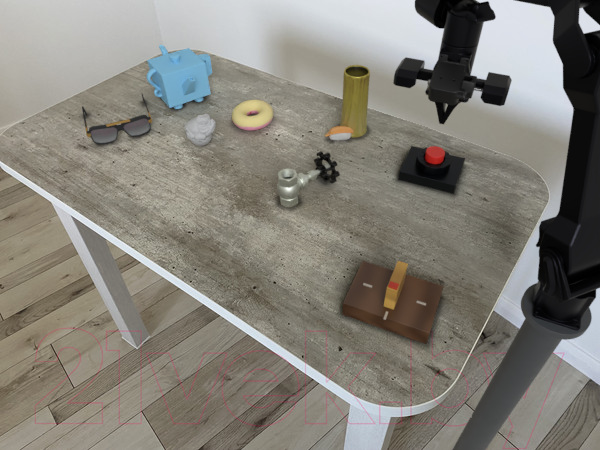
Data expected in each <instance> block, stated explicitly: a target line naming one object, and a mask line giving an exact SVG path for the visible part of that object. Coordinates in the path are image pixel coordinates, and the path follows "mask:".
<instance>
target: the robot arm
mask: <svg viewBox="0 0 600 450" xmlns="http://www.w3.org/2000/svg"><path fill="white" fill-rule="evenodd" d="M514 1H516V2H521V3H526V4H531V5H536V6H542V7H546V8H550V10H551V13H552V15H553V29H552V43H553V47H554V49H555V50H556V53H557V54H558V57H559V59H560V61H561V64H562V89H563V91H564V93H565V95H566V96H567V99H568V101H569V102H570V104H571V106H572V111H573V112H572V119H571V126H570V133H569V139H568V147H567V153H566V161H565V167H564V174H563V182H562V187H561V196H560V203H559V208H558V212H557V214H556V216H553V217H550V218H547V219H544V220H541V221H540V224H539V226H538V240H537V242H536V244H535V247H536V248H538V269H537V282H536V283H537V284H536V283H535V284H536V286H535V288H534V290H533V295H532V302H531V303H532V304H534V305H533V313H532V315H533V316H534V317H535V318H538V319H541V320H544V321H547V322H551V323H554V324H557V325H560V326H563V327H566V328H570V329H573V330H576V331H578V330H579V329H580V328H581V318H582V317H583V315H584V314H585V312H586V311H587V309H588V308H590V307H591V305H592V304H593V303H594V301H595V300H596V298H597V290H598V289H600V29H598V30H594V31H589V32H584V31H583V28H582V26H581V24H580V9H583V11H584V12H585V14H586V15H588V17H590V18H591V19H592V20H593V21H594V22H595V23H596V24H597V25H599V26H600V0H514ZM414 10H415V12H416V13H417V14H418V15H419V16H420V17H422V18H423V19H424V20H426V21H427V22H429V23H430V24H431V25H433V26H434V27H436V28H437V29H440V30H441V29H443V32H442V37H441V42H440V47H439V51H438V58H437V61H436V62H435V64H434V66H433V69H428V68H425V66H426V65H425V64H426V61H425V60H424V59H418V58H412V57H407V56H406V57H404V58H403V59H402V60H401V61H400V63H399V64H398V65H397V67H396V69H395V71H394V75H393V82H392V83H393V85H394V86H396V87H401V88H406V89H411V88H412V87H414V86H416V84H417V80H418V81H424V82H427V87H426V89H425V91H424V92H425V95H426V96H427V99H428V100H429V102H432V103H434V105H435V108H436V114H437V120H438V123H439V124H440V125H445V124H446V122H447V120H448V119H449V117H450V116H451V114H452V112H453V111H454V110H455V109H456V108H457V106H458V105H459V104H461V103H463V104H464V103H468V102H469V100H470V99H472V98H473V94H474V92H475V91H476V92H480V93H481V94H480V99H481V101H482V102H483V103H484V104H489V105H492V106H498V107H503V106H505V104H506V101H507V98H508V95H509V91H510V87H511V85H512V78H511V76H510V75H509V74H501V73H496V72H490V71H488V72H487V75H486V78H485V79H483V78H478V77H477V76H476V75H472V71H473V67H474V63H475V60H476V59H475V58H476V55H477V52H478V51H477V50H478V48H479V43H480V39H481V35H482V31H483V27H484V23H485V22H490V21H494V20H496V17H497V16H496V13H495V11H494V10H493V9H492V7H491V5H490V2H489V1H488V0H487V1H482V2H480V1H478V0H414ZM536 314H537V315H536ZM575 326H576V327H575Z"/></svg>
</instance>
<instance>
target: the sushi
mask: <svg viewBox="0 0 600 450" xmlns="http://www.w3.org/2000/svg"><path fill="white" fill-rule="evenodd" d="M351 133H352V134H353V133H354V131H353V130H352V129H351V128H349V127H347V126H340V125H335V126H332V127H331V128H329V130H328V132H327V133H325V134H324V137H328V138H329V140H331V141H346V140H349V139H350V138H352V137H351Z"/></svg>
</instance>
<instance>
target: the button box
mask: <svg viewBox="0 0 600 450" xmlns="http://www.w3.org/2000/svg"><path fill="white" fill-rule="evenodd" d="M427 148H428V147H424V148H423V147H419V146H414V145H411V146H410V148H409V150H408V152H407V155H406V156H405V158H404V161H403V163H402V165H401V166H400V169H399V171H398V177H397V180H398V181H401V182H402V181H403V182H405V183H408V184H409V183H410V184H414V185H417V186H421V187H424V188H429V189H432V190H437V191H441V192H445V193H449V194H452V195H454V194H455V192H456V189H457V186H458V183H459V180H460V177H461V174H462V172H463V168H464V165H465V161H466V158H465V157H461V156H458V155H453V154H450V153H449V152H448V151H446V150H445V149H443V150H444V151H445V156H444V160H443V162H442V163H440V164H431V163H428V162H427V161H426V160H425V154H426V150H427Z"/></svg>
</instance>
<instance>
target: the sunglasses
mask: <svg viewBox="0 0 600 450" xmlns="http://www.w3.org/2000/svg"><path fill="white" fill-rule="evenodd" d="M141 97H142V101H143V103H144V105H145V109H146V112H147V114H148V116H147V115H146V114H141V115H138V116H134V117H132V118H131V117H130V118H127V119H123V120H119V121H118V120H117V121H114V122H110V123H106V124H99V125H92V126H90V127H88V124H87V120H86V116H88V114H87V111H86V109H85V107H84V105H83V106H81V111H82V116H83V122H84V123H83V124H84V127H85V134H86V137H87V138H91V140H92V142H93V143H94V144H97V145H107V144H111V143H113V142H116V141H117V140H118V135H119V132H121V131H122V132H124V133H126V134H127V135H128V136H129V137H133V138H135V137H140V136H144V135H146V134H149V132H150V131H151V130H152V126H151V124H152V123H153V119H152V116H151V114H150V111H149V108H148V105H147V102H146V100H145V99H146V98H145V97H144V94H143V93H141Z"/></svg>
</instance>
